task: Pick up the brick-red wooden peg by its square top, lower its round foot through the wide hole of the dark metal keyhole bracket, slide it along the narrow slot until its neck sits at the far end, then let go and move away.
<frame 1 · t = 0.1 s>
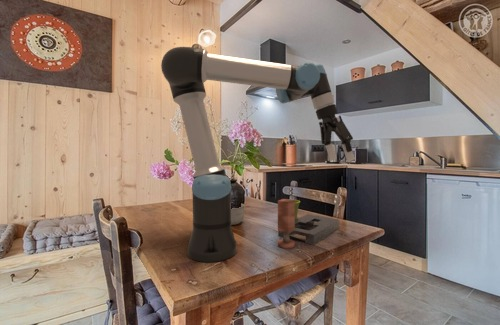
hand: (341, 160, 93), 28 cm above the table, tool tilted 20°, fingers open, 13 cm apart
peg: (286, 245, 81), on the table
teacup: (232, 222, 108), on the table
slot bracket: (310, 231, 94), on the table
plant pot: (289, 220, 112), on the table
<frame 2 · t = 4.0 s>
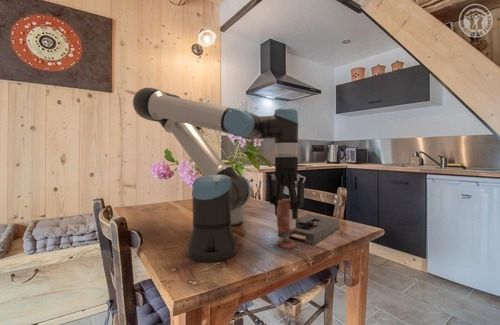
hand: (286, 226, 80), 6 cm above the table, tool pointing down, fingers closed on peg, 4 cm apart
peg: (286, 245, 81), on the table, touching gripper
everything else where it was.
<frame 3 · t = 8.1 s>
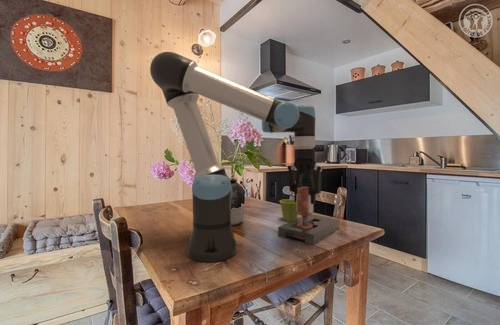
hand: (304, 211, 90), 9 cm above the table, tool pointing down, fingers closed on peg, 4 cm apart
peg: (304, 227, 90), point 3 cm above the table, touching gripper
everything else where it was.
when the fingers open (7 cm above the table, at t = 12.3 s): peg stays where it is, on the table.
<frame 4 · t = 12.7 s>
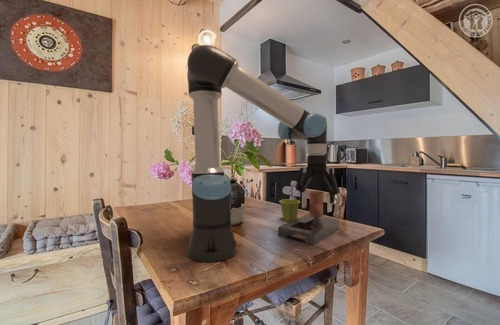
hand: (316, 209, 98), 8 cm above the table, tool pointing down, fingers open, 10 cm apart
peg: (316, 228, 99), on the table
everything else where it was.
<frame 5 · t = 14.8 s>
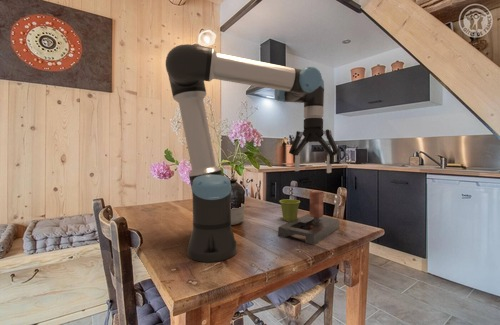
hand: (312, 171, 97), 23 cm above the table, tool pointing down, fingers open, 13 cm apart
nothing on the table moved.
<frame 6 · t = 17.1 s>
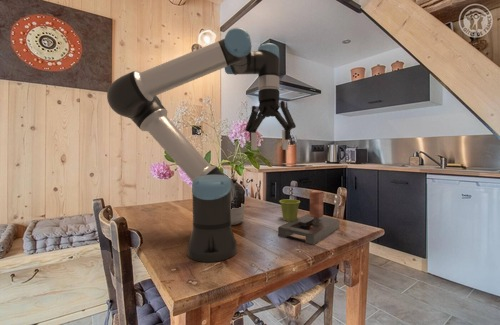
hand: (268, 150, 87), 32 cm above the table, tool pointing down, fingers open, 13 cm apart
nothing on the table moved.
at the end: peg 0.2 cm from the target spot on the slot bracket, point 0.0 cm above the slot bracket's base; the gripper is holding nothing; peg tilted 0° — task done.
